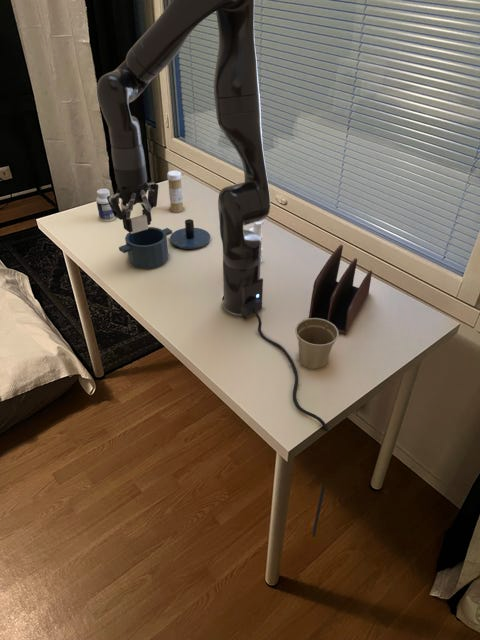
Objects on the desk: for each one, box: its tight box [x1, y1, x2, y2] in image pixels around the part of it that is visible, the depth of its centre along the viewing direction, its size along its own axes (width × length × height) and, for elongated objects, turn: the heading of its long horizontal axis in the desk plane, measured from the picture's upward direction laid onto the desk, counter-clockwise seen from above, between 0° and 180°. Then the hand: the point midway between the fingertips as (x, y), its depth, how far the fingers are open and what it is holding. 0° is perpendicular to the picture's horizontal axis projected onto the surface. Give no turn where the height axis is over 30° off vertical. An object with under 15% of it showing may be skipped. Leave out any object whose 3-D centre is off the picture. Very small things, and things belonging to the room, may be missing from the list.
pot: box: [118, 226, 173, 270], centre depth 145 cm, size 12×17×7 cm
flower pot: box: [294, 317, 340, 370], centre depth 111 cm, size 9×9×9 cm
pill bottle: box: [95, 187, 116, 222], centre depth 165 cm, size 5×5×10 cm
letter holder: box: [308, 244, 373, 336], centre depth 124 cm, size 10×20×14 cm, turn 152°
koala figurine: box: [247, 220, 265, 263], centre depth 143 cm, size 8×7×12 cm
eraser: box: [130, 214, 149, 234], centre depth 128 cm, size 1×5×4 cm, turn 122°
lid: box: [169, 218, 211, 250], centre depth 154 cm, size 13×13×7 cm
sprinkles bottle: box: [166, 170, 185, 213], centre depth 169 cm, size 5×5×14 cm
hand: (138, 227), depth 128 cm, fingers closed on eraser, 5 cm apart
